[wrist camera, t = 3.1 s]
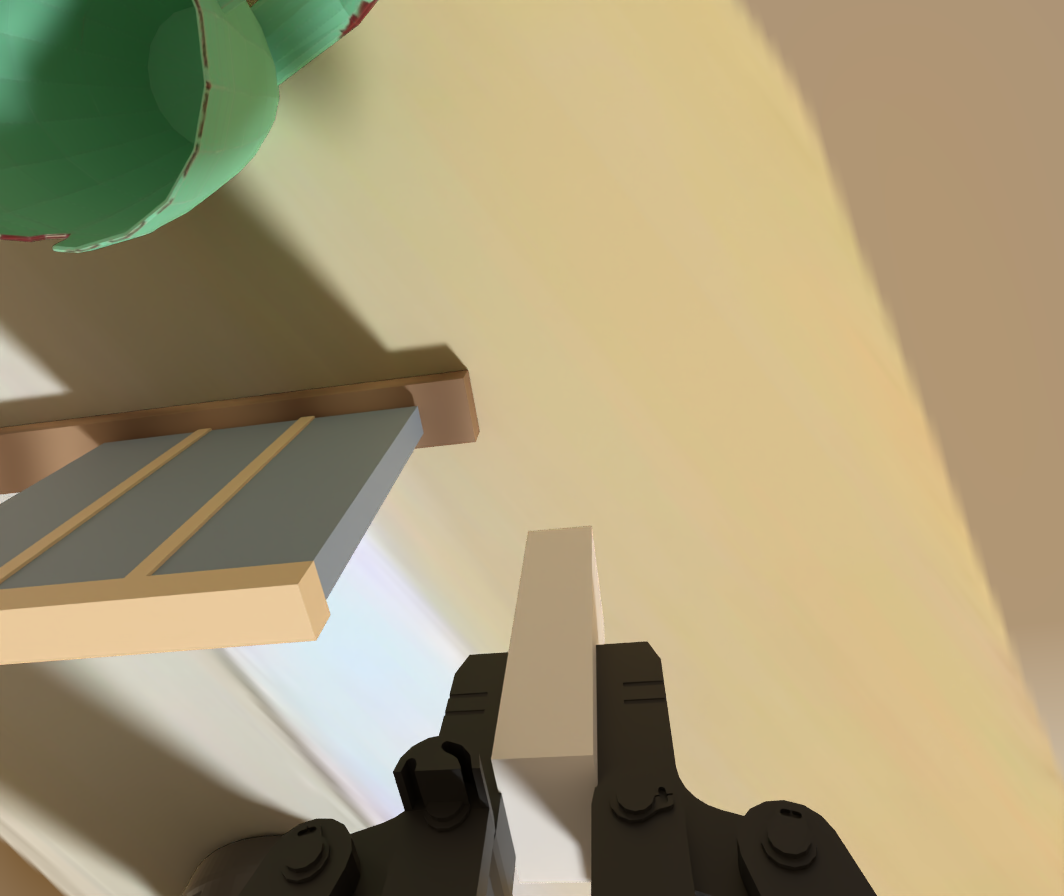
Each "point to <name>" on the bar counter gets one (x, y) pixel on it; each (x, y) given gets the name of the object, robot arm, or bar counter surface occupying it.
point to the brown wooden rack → (239, 421)
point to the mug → (140, 105)
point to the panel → (194, 537)
